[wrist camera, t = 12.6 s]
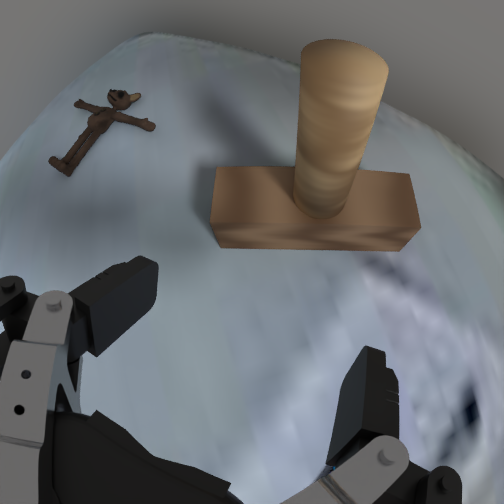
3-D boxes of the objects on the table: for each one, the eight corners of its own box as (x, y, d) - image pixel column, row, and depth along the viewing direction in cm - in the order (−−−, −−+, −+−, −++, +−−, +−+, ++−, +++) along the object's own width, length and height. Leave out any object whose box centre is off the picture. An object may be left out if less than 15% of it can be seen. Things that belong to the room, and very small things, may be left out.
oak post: (342, 174, 23) (376, 44, 12) (348, 220, 21) (399, 90, 10) (292, 173, 23) (298, 36, 12) (293, 218, 22) (304, 80, 10)
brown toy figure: (25, 147, 32) (88, 71, 34) (41, 161, 36) (100, 88, 38) (90, 188, 27) (172, 86, 30) (110, 205, 31) (182, 109, 34)
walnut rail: (391, 203, 27) (409, 173, 22) (399, 251, 25) (421, 227, 21) (225, 198, 28) (216, 166, 24) (220, 248, 27) (209, 222, 22)
